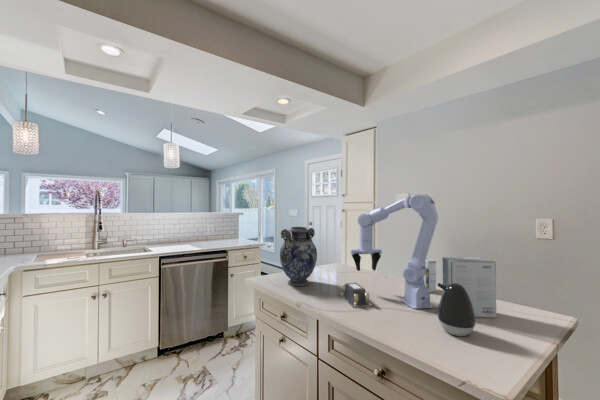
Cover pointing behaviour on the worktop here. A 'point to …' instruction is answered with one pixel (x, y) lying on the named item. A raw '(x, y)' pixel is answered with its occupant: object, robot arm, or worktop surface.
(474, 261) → the hard drive box
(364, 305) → the brass peg board
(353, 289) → the block
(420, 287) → the robot arm
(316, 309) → the worktop surface
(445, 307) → the pump dispenser
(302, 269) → the decorative vase
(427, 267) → the syrup box
